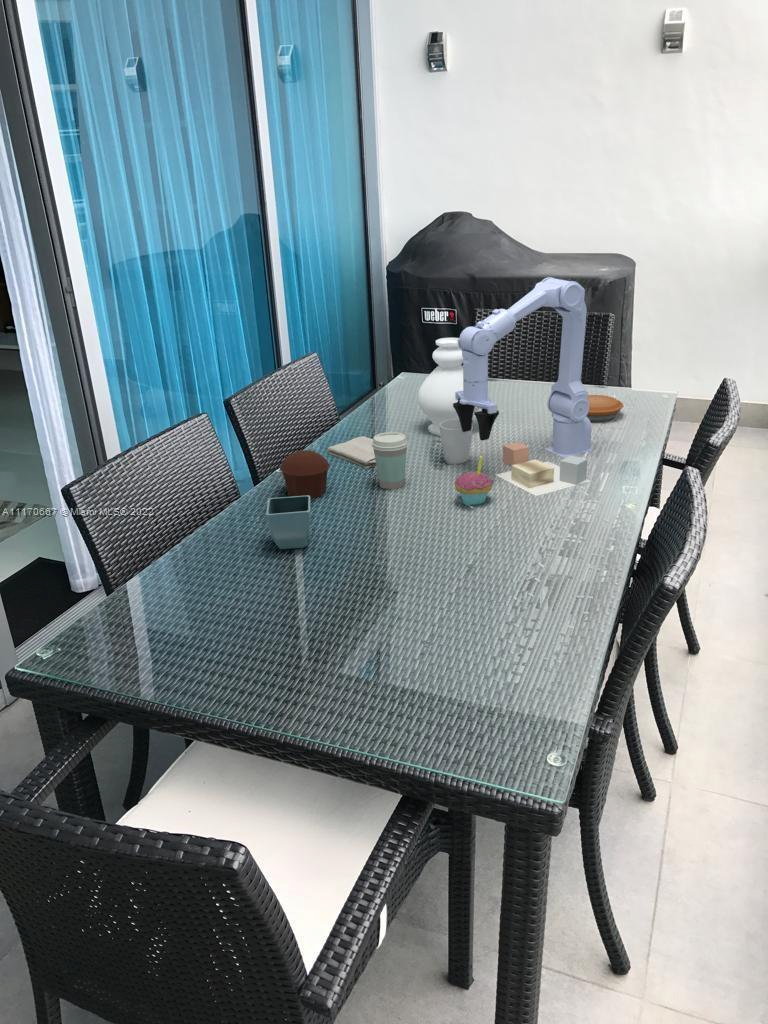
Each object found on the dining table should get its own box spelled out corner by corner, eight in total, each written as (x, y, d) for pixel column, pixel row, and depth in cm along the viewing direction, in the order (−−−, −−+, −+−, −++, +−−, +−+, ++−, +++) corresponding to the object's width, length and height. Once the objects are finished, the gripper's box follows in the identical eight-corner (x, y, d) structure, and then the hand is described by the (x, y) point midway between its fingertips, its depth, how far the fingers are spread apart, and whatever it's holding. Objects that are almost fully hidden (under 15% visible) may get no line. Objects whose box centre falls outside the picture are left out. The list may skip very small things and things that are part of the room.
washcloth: (369, 471, 219) (368, 460, 218) (325, 455, 232) (324, 444, 230) (404, 459, 226) (403, 448, 225) (359, 444, 239) (359, 433, 237)
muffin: (273, 499, 204) (269, 458, 200) (294, 481, 213) (291, 443, 209) (320, 504, 200) (317, 463, 196) (339, 486, 210) (336, 447, 205)
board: (548, 463, 218) (548, 461, 217) (591, 483, 205) (591, 481, 204) (495, 477, 211) (495, 474, 211) (536, 498, 198) (536, 496, 198)
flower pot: (271, 536, 185) (267, 497, 182) (313, 533, 186) (310, 494, 182) (270, 554, 177) (266, 514, 173) (313, 551, 178) (310, 511, 174)
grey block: (569, 474, 208) (570, 455, 206) (586, 478, 206) (587, 459, 204) (559, 480, 205) (560, 460, 203) (576, 484, 203) (577, 464, 201)
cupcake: (496, 497, 199) (496, 447, 195) (487, 511, 192) (488, 460, 187) (459, 493, 202) (459, 444, 197) (450, 508, 195) (449, 457, 190)
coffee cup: (415, 480, 211) (413, 433, 206) (400, 493, 204) (398, 444, 199) (383, 476, 214) (380, 429, 210) (367, 488, 207) (365, 440, 203)
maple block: (535, 473, 210) (535, 459, 209) (553, 481, 205) (554, 467, 203) (511, 479, 207) (511, 465, 206) (529, 488, 202) (529, 474, 200)
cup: (472, 456, 225) (472, 419, 220) (472, 467, 217) (472, 429, 213) (441, 456, 225) (440, 419, 221) (439, 467, 218) (439, 429, 214)
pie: (567, 424, 245) (568, 407, 243) (566, 408, 259) (567, 391, 257) (624, 425, 243) (625, 407, 241) (620, 408, 257) (621, 392, 255)
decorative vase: (485, 438, 237) (485, 347, 227) (419, 440, 238) (417, 349, 228) (479, 418, 253) (480, 332, 243) (418, 420, 254) (416, 334, 244)
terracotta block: (517, 460, 221) (517, 441, 219) (528, 465, 217) (528, 446, 215) (502, 464, 219) (503, 445, 217) (513, 469, 215) (513, 450, 213)
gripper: (444, 375, 207) (445, 430, 213) (478, 389, 196) (478, 446, 201) (469, 371, 210) (469, 425, 216) (504, 384, 199) (503, 440, 204)
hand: (475, 435), depth 209 cm, fingers open, 7 cm apart
